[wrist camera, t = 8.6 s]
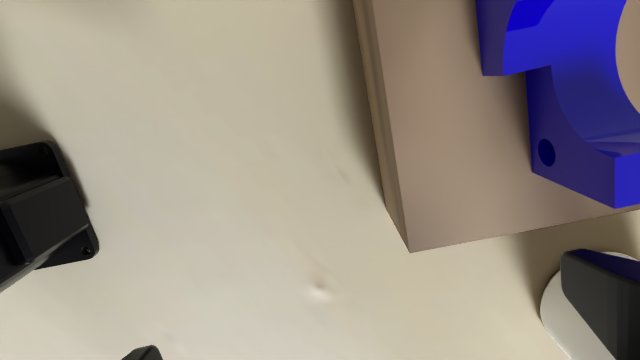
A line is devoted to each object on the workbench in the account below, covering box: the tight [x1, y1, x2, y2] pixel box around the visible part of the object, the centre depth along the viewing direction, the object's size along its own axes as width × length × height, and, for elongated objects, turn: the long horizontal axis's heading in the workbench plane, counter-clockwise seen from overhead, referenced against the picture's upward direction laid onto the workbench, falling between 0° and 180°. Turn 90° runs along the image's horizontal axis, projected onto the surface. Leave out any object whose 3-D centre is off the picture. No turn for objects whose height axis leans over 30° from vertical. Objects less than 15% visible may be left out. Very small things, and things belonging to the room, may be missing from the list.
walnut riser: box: [352, 0, 640, 253], centre depth 15 cm, size 10×12×5 cm
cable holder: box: [475, 0, 640, 209], centre depth 11 cm, size 8×4×4 cm, turn 13°
